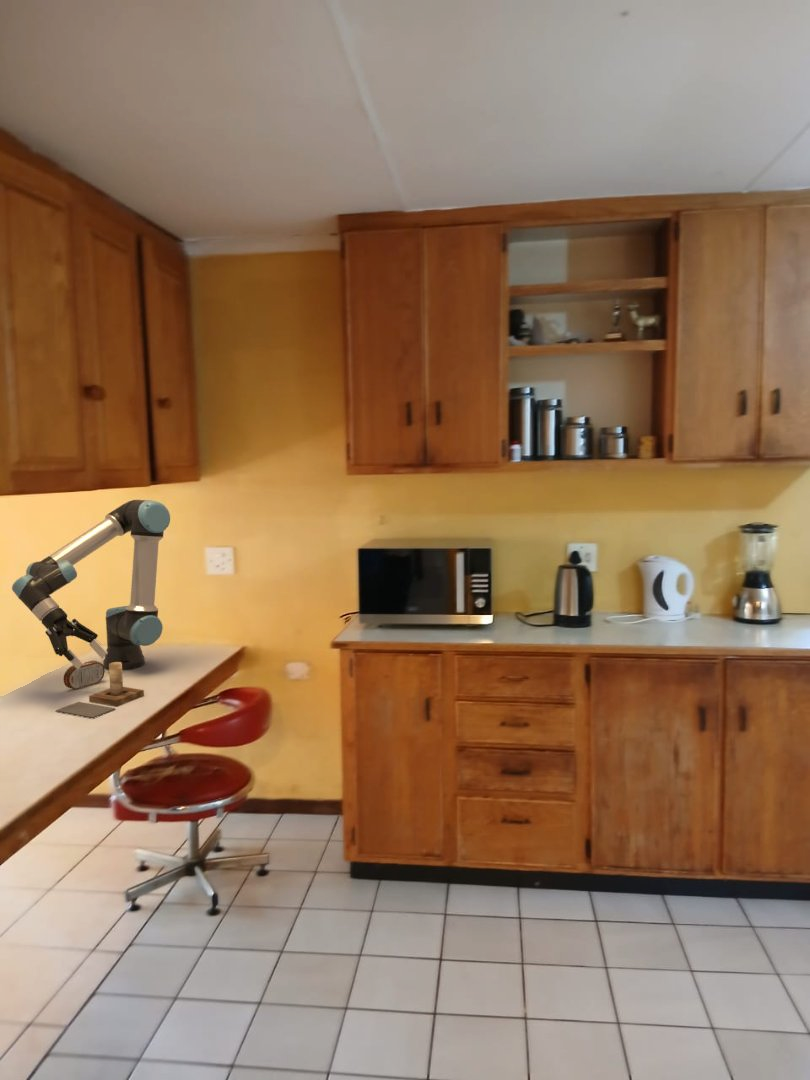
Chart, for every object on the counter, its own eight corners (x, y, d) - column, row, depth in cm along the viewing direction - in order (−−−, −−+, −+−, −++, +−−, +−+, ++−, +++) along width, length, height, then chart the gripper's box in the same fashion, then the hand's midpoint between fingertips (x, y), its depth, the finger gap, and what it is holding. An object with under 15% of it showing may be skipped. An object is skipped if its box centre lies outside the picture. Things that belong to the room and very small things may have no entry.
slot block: (117, 691, 252) (117, 685, 252) (143, 695, 247) (143, 690, 247) (89, 701, 241) (89, 695, 241) (116, 706, 236) (116, 700, 236)
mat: (78, 703, 240) (78, 701, 239) (115, 709, 233) (115, 708, 233) (55, 711, 231) (55, 710, 231) (92, 718, 225) (92, 717, 225)
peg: (117, 696, 247) (115, 661, 245) (126, 697, 245) (124, 662, 244) (107, 699, 243) (106, 664, 242) (116, 701, 241) (115, 665, 240)
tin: (101, 680, 265) (100, 657, 264) (106, 681, 264) (105, 658, 263) (63, 691, 252) (62, 667, 251) (69, 692, 251) (67, 668, 250)
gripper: (67, 614, 256) (107, 658, 255) (17, 630, 232) (62, 679, 231) (80, 600, 255) (121, 644, 254) (32, 614, 231) (77, 663, 230)
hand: (93, 661), depth 243 cm, fingers open, 13 cm apart
